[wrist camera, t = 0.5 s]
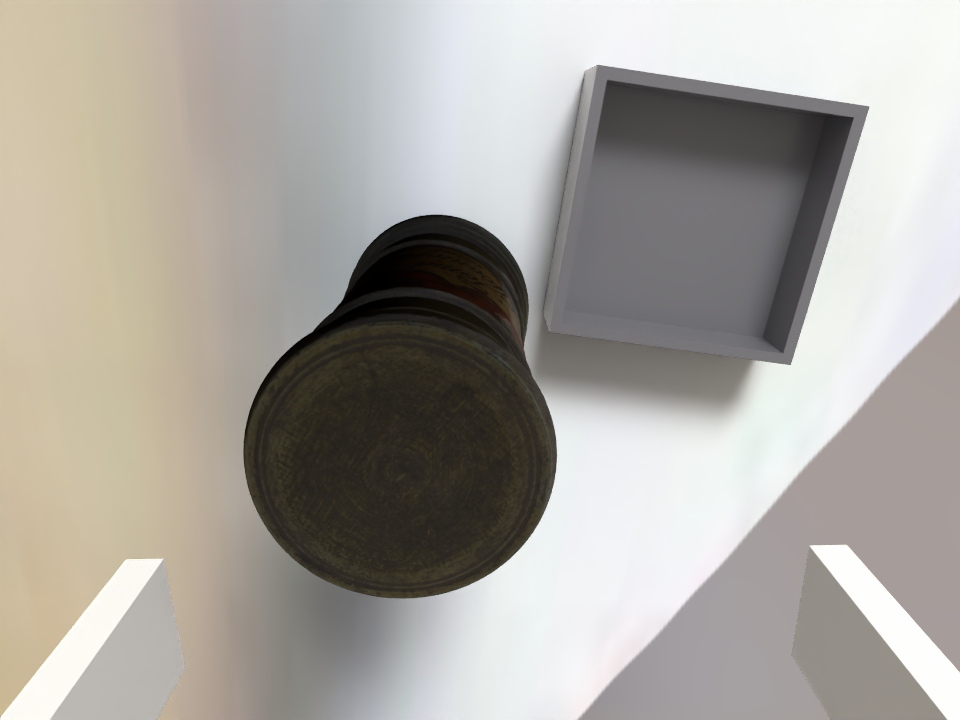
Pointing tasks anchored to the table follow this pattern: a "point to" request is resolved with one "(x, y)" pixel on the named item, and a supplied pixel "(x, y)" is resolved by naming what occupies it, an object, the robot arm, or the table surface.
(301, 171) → the table surface
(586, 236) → the tray
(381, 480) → the container
